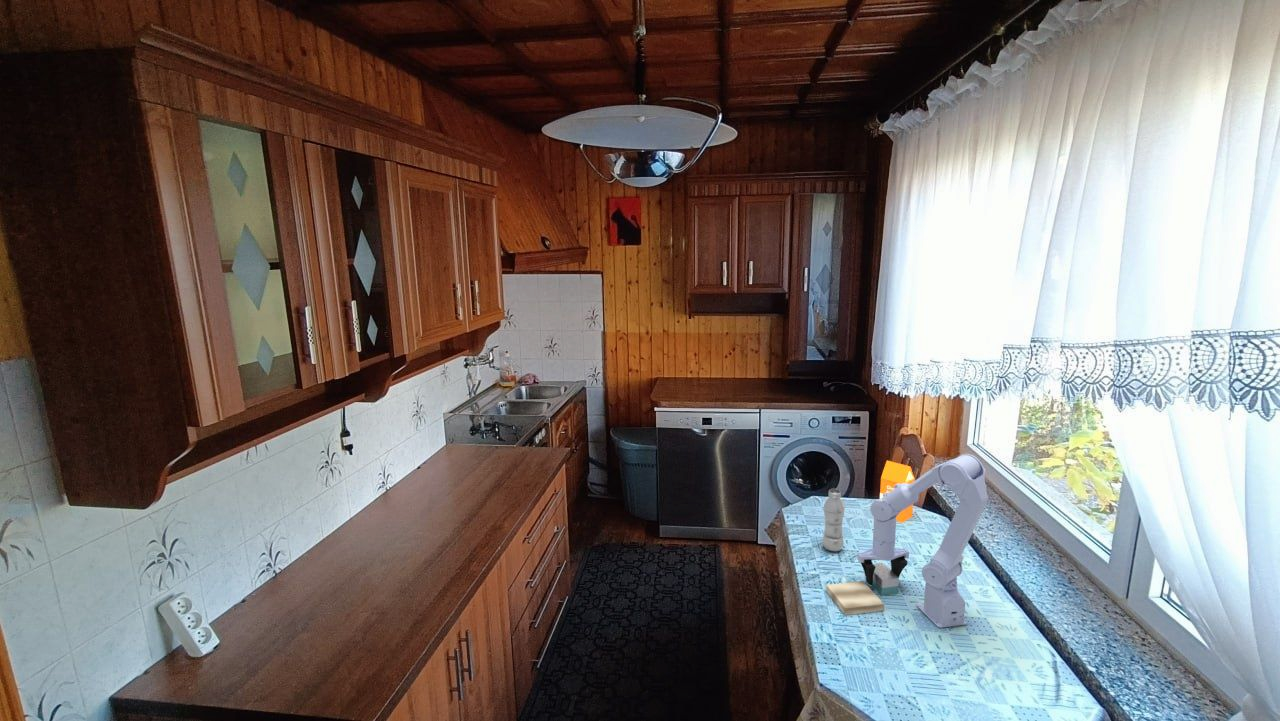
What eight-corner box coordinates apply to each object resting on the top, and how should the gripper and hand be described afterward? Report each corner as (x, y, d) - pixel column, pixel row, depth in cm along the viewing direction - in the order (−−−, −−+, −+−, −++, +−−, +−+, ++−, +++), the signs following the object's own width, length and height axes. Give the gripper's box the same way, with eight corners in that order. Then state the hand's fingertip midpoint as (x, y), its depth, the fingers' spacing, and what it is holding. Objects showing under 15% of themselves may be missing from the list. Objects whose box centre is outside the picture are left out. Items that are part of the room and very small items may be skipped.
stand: (883, 610, 149) (884, 604, 148) (844, 615, 147) (845, 608, 147) (862, 587, 160) (862, 580, 159) (826, 591, 158) (826, 584, 158)
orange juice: (888, 508, 208) (891, 457, 204) (912, 516, 201) (916, 463, 198) (878, 514, 203) (881, 463, 199) (902, 523, 196) (906, 469, 193)
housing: (897, 594, 156) (898, 577, 155) (881, 596, 155) (882, 579, 155) (881, 578, 164) (882, 562, 163) (865, 580, 163) (866, 564, 162)
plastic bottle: (820, 551, 179) (822, 493, 176) (824, 542, 185) (826, 485, 182) (841, 556, 176) (843, 497, 173) (844, 546, 182) (846, 488, 179)
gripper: (899, 529, 162) (897, 571, 164) (852, 533, 160) (850, 576, 162) (914, 541, 155) (911, 585, 157) (865, 545, 153) (863, 590, 156)
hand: (881, 581), depth 159 cm, fingers open, 7 cm apart
